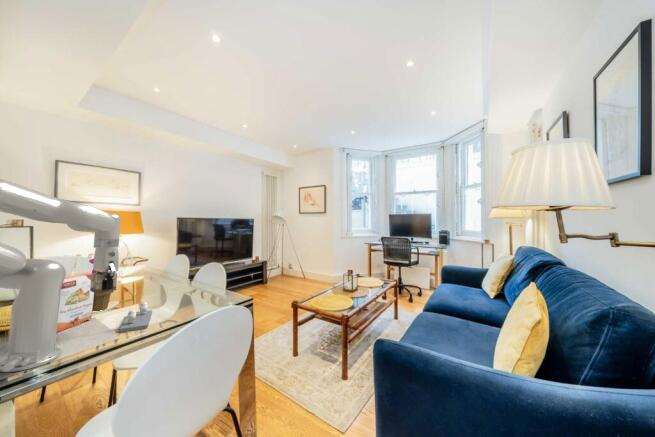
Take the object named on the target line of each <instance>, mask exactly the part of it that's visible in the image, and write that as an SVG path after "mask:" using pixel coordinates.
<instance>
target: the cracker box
mask: <svg viewBox="0 0 655 437" xmlns="http://www.w3.org/2000/svg"><path fill="white" fill-rule="evenodd" d="M91 273H92V272H90V273H89V272H87V273H85V272H82V273H78V274H71V275H66V276H65V279H64V282H63V285H62V288H61V291H60V297H59V308H58V319H57V331H56V334H57V333H59V332H62V331H64V330H67V329H70V328H72V326H73V327H75V325H76V326H78V325H80V324H79V323H81V324H83V323H82V322H84V321H86V320H89V319H91V320H92V316H93V315H92V314H93V313H92V307H93V297H94V292H92V291H90V286H91ZM89 321H90V320H89ZM86 322H87V321H86ZM84 323H85V322H84ZM77 324H78V325H77Z"/></svg>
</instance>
